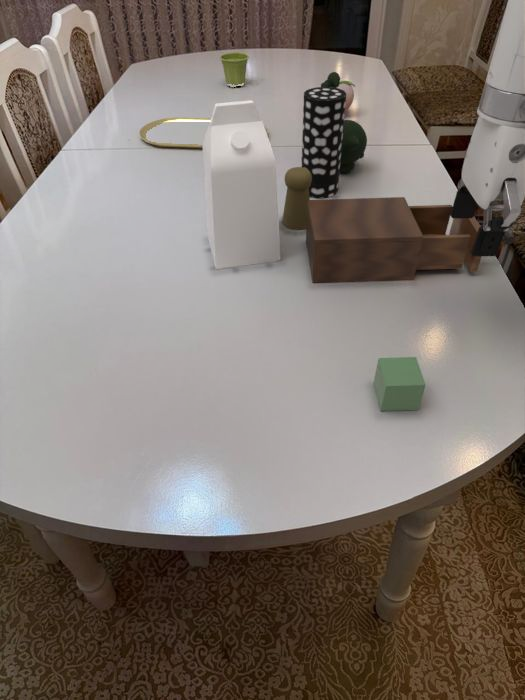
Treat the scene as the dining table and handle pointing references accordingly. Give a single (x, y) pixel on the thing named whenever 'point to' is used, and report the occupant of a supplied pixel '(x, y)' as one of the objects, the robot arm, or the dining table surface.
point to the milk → (240, 187)
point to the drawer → (447, 238)
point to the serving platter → (170, 120)
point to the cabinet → (362, 240)
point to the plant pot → (234, 67)
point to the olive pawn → (296, 198)
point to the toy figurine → (348, 134)
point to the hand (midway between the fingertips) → (471, 235)
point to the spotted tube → (323, 138)
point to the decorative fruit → (347, 92)
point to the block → (398, 384)
